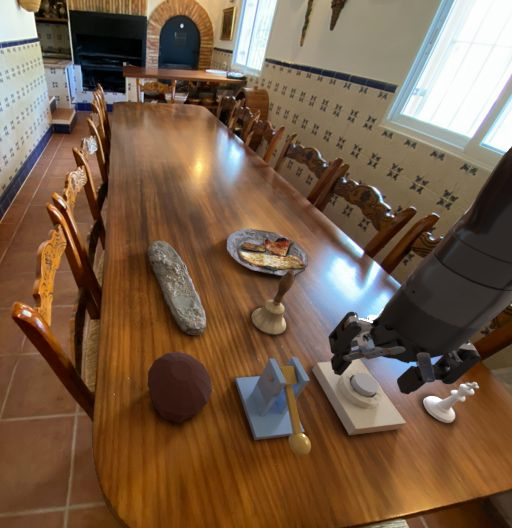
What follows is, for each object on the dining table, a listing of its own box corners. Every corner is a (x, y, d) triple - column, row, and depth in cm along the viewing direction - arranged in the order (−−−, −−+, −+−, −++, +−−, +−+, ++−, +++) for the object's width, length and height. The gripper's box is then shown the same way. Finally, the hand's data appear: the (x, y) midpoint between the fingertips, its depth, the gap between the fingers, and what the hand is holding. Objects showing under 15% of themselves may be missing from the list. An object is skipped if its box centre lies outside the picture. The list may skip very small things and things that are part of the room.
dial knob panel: (397, 429, 54) (412, 418, 52) (349, 435, 53) (361, 424, 50) (353, 366, 64) (364, 354, 62) (311, 369, 63) (320, 357, 60)
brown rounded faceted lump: (137, 382, 58) (138, 352, 52) (186, 363, 62) (193, 333, 56) (162, 443, 50) (166, 416, 44) (217, 417, 54) (228, 389, 48)
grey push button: (378, 396, 55) (383, 391, 54) (359, 398, 54) (363, 393, 53) (364, 376, 58) (368, 371, 57) (345, 377, 57) (350, 373, 56)
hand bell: (254, 304, 77) (273, 255, 67) (287, 315, 74) (312, 267, 64) (248, 326, 71) (267, 277, 61) (283, 340, 68) (309, 290, 58)
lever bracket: (302, 434, 53) (333, 399, 45) (254, 440, 51) (277, 405, 43) (276, 377, 61) (298, 339, 53) (234, 381, 60) (250, 342, 52)
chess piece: (457, 426, 55) (500, 401, 49) (428, 417, 57) (465, 391, 50) (447, 402, 59) (485, 375, 53) (419, 393, 60) (453, 366, 54)
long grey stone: (174, 344, 67) (214, 337, 70) (178, 330, 64) (219, 323, 67) (140, 248, 92) (170, 245, 94) (142, 234, 88) (173, 232, 91)
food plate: (299, 241, 102) (302, 232, 99) (313, 287, 84) (318, 277, 81) (226, 230, 104) (228, 221, 102) (224, 271, 86) (226, 262, 84)
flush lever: (305, 451, 47) (318, 457, 44) (286, 454, 47) (298, 459, 44) (287, 365, 51) (297, 365, 48) (270, 367, 51) (279, 366, 48)
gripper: (382, 306, 30) (318, 387, 40) (549, 345, 27) (435, 421, 38) (364, 262, 36) (312, 343, 46) (502, 291, 33) (414, 370, 43)
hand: (368, 378), depth 42 cm, fingers open, 8 cm apart
